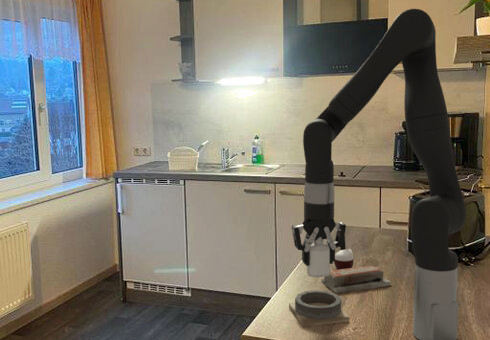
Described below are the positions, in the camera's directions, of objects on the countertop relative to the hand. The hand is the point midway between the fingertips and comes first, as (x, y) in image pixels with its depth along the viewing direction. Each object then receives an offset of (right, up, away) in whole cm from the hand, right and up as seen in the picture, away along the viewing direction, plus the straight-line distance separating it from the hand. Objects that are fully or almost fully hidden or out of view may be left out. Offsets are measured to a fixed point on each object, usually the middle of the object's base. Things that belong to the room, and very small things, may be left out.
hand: (318, 263), depth 136 cm
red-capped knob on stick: (+13, -8, +36) cm, 39 cm away
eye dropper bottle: (0, -3, +1) cm, 3 cm away
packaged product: (+14, -11, +23) cm, 29 cm away
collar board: (0, -13, +2) cm, 14 cm away
